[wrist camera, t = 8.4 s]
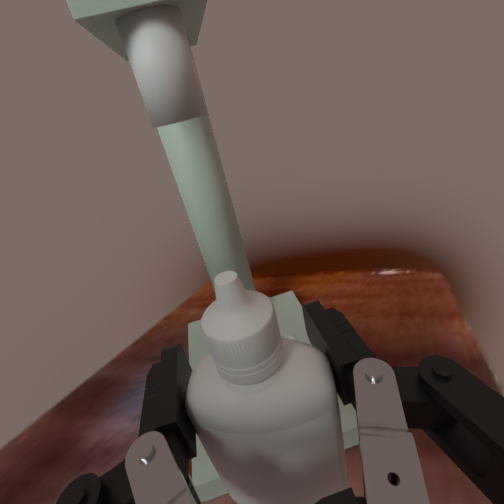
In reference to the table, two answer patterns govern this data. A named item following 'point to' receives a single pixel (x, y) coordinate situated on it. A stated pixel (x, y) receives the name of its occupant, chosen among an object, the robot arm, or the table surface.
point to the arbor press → (190, 160)
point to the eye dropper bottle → (264, 404)
